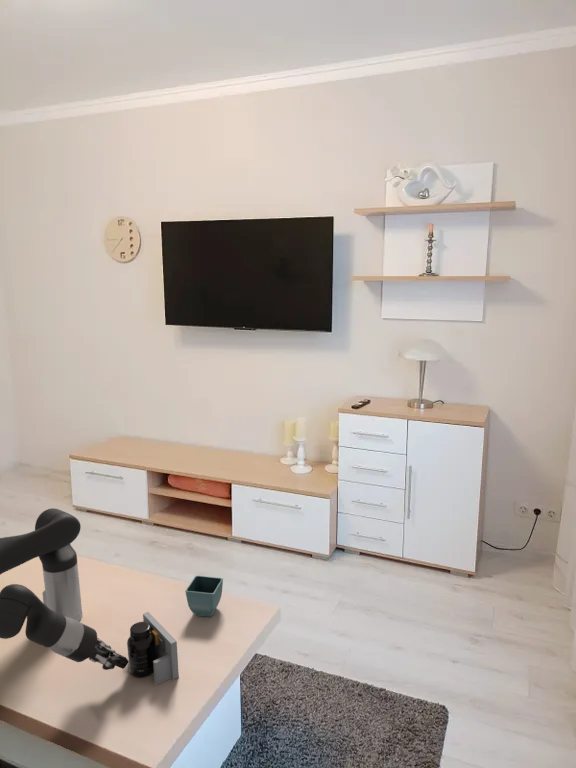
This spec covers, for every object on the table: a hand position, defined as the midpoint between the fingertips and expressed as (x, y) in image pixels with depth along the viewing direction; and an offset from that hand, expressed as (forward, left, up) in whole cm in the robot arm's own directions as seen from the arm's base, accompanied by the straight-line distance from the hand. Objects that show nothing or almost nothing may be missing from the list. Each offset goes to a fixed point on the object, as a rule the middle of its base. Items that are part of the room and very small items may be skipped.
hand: (125, 663), depth 139 cm
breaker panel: (+4, +6, -4) cm, 9 cm away
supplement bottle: (+2, +4, -5) cm, 7 cm away
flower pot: (+7, +31, -5) cm, 32 cm away
